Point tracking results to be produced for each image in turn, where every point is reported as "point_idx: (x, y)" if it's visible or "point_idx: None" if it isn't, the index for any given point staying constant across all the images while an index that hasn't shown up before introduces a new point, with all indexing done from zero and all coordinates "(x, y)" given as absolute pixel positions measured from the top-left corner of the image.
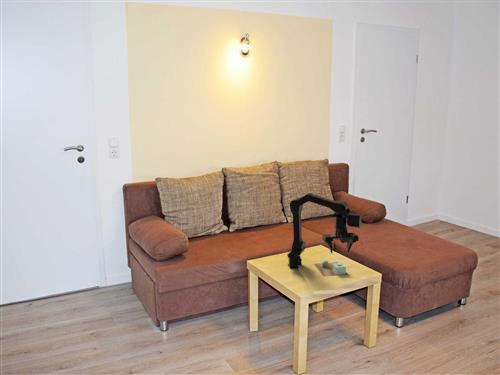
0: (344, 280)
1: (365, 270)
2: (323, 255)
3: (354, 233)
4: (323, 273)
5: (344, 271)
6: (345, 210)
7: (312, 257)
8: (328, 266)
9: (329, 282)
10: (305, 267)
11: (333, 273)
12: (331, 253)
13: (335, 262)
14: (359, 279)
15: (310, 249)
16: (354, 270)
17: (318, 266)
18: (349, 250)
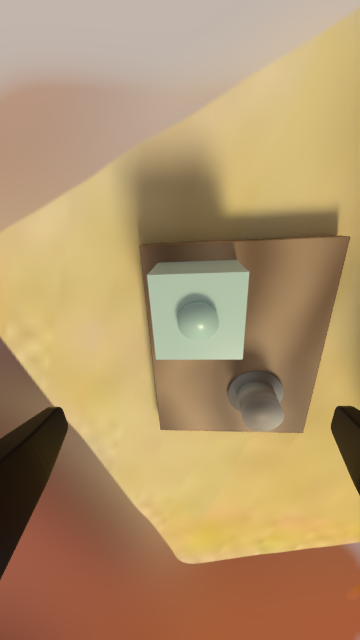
0: (191, 182)
1: (19, 330)
2: (195, 503)
3: None
4: (319, 291)
5: (166, 266)
6: None
7: (253, 496)
8: (236, 385)
9: (327, 152)
10: None
11: None
12: (351, 414)
13: (171, 428)
14: (74, 189)
15: (228, 549)
16: (84, 339)
17: (294, 397)
18: (8, 433)
